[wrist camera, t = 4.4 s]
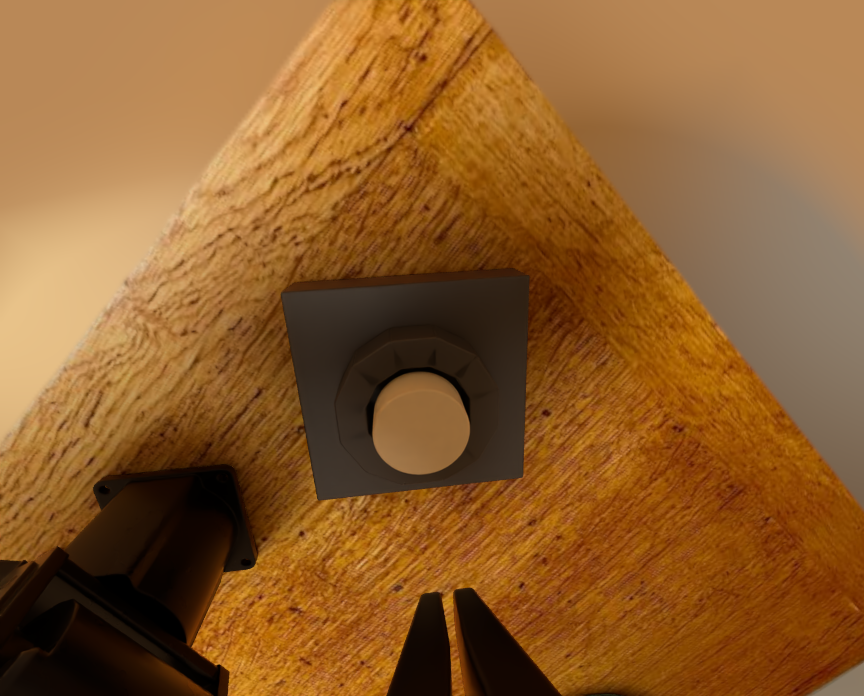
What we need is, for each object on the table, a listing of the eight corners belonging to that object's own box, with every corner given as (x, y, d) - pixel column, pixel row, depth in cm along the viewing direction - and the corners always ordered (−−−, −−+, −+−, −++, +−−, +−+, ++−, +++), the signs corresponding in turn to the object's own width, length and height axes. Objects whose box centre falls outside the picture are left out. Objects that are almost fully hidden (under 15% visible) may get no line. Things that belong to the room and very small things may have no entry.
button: (369, 374, 15) (367, 394, 14) (461, 366, 16) (469, 385, 14) (378, 453, 17) (377, 480, 15) (462, 444, 17) (471, 470, 15)
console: (292, 282, 17) (266, 302, 14) (514, 267, 18) (546, 282, 14) (324, 472, 21) (310, 530, 17) (510, 452, 22) (536, 503, 18)
